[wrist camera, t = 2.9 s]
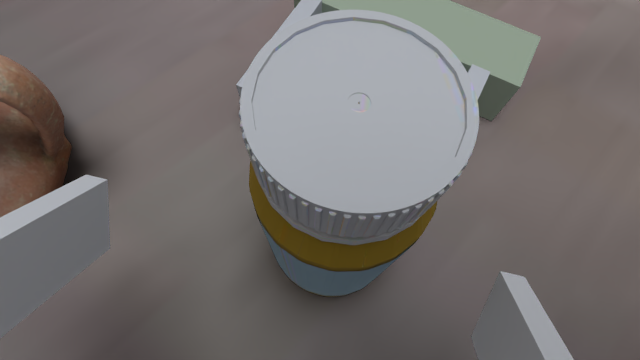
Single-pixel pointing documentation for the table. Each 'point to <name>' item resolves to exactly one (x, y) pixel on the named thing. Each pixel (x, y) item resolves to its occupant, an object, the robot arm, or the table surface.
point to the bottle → (352, 142)
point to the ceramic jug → (29, 138)
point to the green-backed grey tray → (452, 41)
